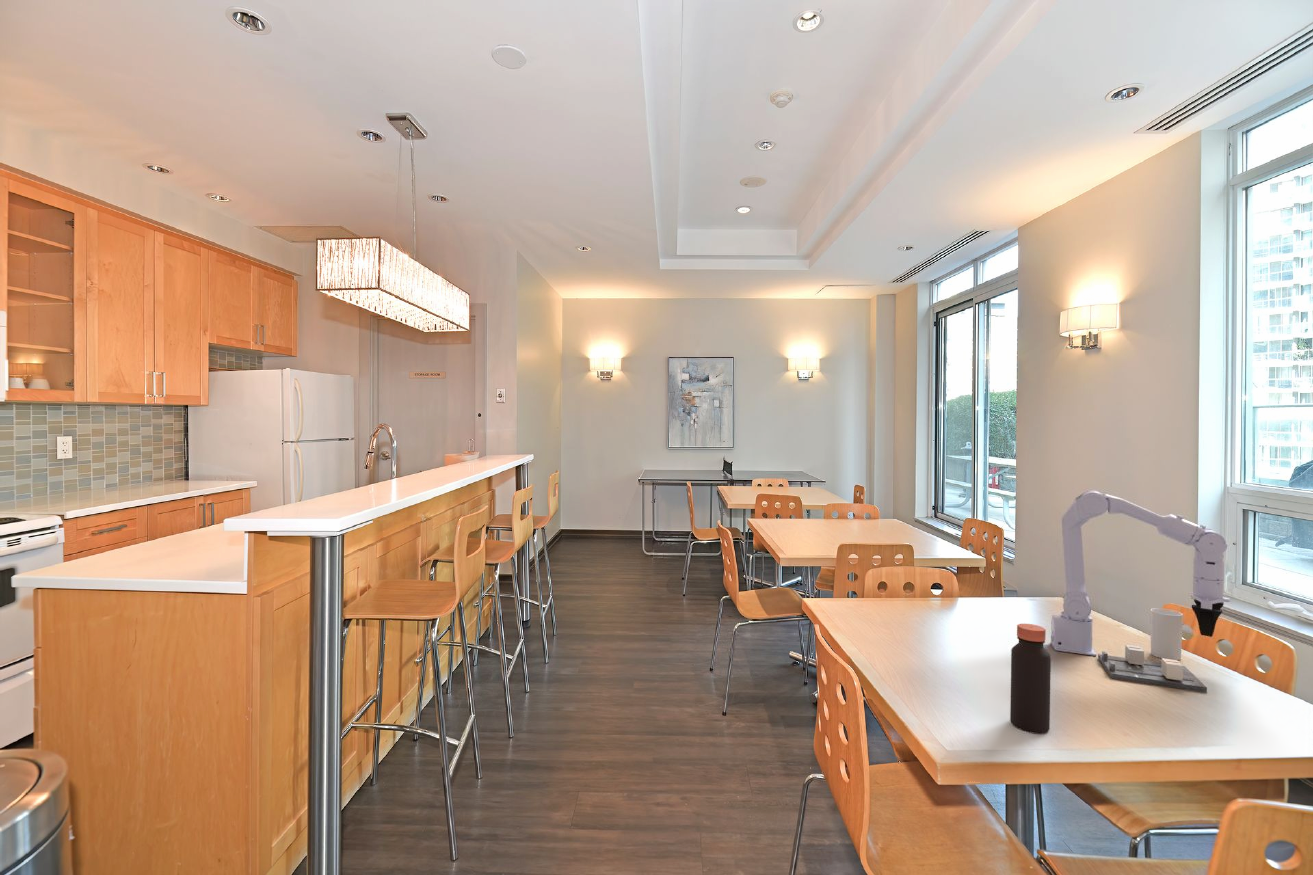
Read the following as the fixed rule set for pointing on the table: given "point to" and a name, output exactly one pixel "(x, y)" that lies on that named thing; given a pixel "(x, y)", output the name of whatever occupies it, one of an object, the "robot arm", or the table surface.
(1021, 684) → the bottle
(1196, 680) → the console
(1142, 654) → the fader far
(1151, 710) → the table surface
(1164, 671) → the fader near
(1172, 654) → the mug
